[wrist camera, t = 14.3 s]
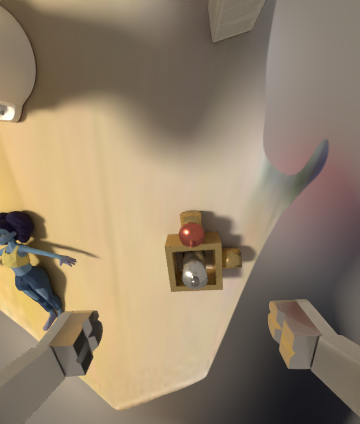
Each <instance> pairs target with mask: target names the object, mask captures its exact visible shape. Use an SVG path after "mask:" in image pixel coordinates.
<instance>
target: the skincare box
mask: <svg viewBox="0 0 360 424" xmlns="http://www.w3.org/2000/svg"><path fill="white" fill-rule="evenodd" d="M265 2H266V0H209V4H208V14H209V21H210V28H211V35H212V42H213V43H215V42H217V41H220V40H223V39H226V38H229V37H232V36H235V35H238V34H241V33H244V32H247V31H251V30H252V29H253V27H254V24H255V22H256V20H257V18H258V16H259V14H260V12H261V10H262V8H263V6H264V4H265Z"/></svg>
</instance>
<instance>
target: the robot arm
mask: <svg viewBox="0 0 360 424" xmlns="http://www.w3.org/2000/svg"><path fill="white" fill-rule="evenodd" d="M35 76H36V66H35V59H34V54H33V50H32V47H31V45H30V42H29V40H28V38H27V36H26V34H25V32H24V30H23V29H22V27H21V26H20V24H19V23H18V22H17V20H16V19H15V18H14V17H13V16H12V15H11V14H10V13H9V12H8V11H7V10H5V9H4V8H3V7H1V6H0V121H6V122H17V121H19V119H20V116H21V112H22V106H23V104H24V102H25V101H26V99H27V98H28V97H29V95H30V94H31V92H32V89H33V86H34V83H35ZM4 112H5V115H4ZM269 309H270V310H271V313H270V314H269V315H268V324H269V329H270V332H271V334H272V336H273V338H274V340H276V341H277V342H278V343H279V344H280V349H279V350H280V353H281V355H282V356H283V358H284V361H285V363H286V365H287V367H288V369H311V370H312V372H313V373H314V374H315V375H317V376H318V377H319V378H320V379H321V380H322V381H323V382H324V383H325V384H326V385H327V386H328V387H329V388H330V389H331V390H332V391H333V392H334V393H335V394H336V395H337V396H338V397H340V399H342V400H343V401H344V402H345V403H346V404H347V405H348V406H349V407H350V408H351V409H352V410H353V411H354V412H355V413H356V414H357V415H358V416H360V346H358V345H357V344H355V343H353V342H352V341H350V340H349V339H347V338H345V337H344V336H342V335H341V336H340V335H337V334H336V333H335V331H334V330H333V329H332V328H331V327H330V326H329V324H328V323H327V322H326V321H325V320H324V319H323V318H322V316H321V315H320V314H319V313H318V312H317V310H316V309H315V308H314V307H313V306H312V305H311V304H310V302H308V301H307V300H306V299H303V300H284V301H271V302H270V304H269ZM98 317H99V314H98V312H97V311H95V310H91V311H65V312H63V313H62V314H61V315H60V316H59V317H58V318H57V320H56V321H55V322H54V324H53V325H52V326H51V327H50V329H49V330H48V331H47V333H46V334H45V335H44V337H43V338H42V339H41V340H40V342H39V343H38V344H37V346H36V347H35V348H31V349H29V350H28V351H27V352H25V353H24V354H22V355H21V356H20V357H18V358H17V359H16V360H14V361H13V362H11V363H10V364H9V365H7V366H6V367H5V368H3V369H2V370H0V424H24V423H25V422H26V421H27V420H28V419H29V418H30V417H31V416H32V414H33V413H34V412H35V411H36V410H37V409H38V408H39V407H40V406H41V404H42V403H43V402H44V401H45V400H46V399H47V398H48V397H49V396H50V394H51V393H52V392H53V391H54V390H55V389H56V388H57V387H58V386H59V385H60V383H61V382H62V381H63V380H64V379H65V377H67V376H82V375H86V373H87V370H88V368H89V366H90V364H91V361H92V359H93V351H94V350H95V349H96V348H97V347H98V346H99V343H100V341H101V338H102V333H103V327H102V323H101V322H100V321H99V320H97V319H98Z"/></svg>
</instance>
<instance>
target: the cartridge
mask: <svg viewBox="0 0 360 424" xmlns="http://www.w3.org/2000/svg"><path fill="white" fill-rule="evenodd" d="M183 259H184V261H183V283H184V285H185V286H186V287H188V288H190V289H201V288H203V287H204V286H205V285H206V284H207V281H208V278H207V271H206V265H205V252H204V250H196V251H183Z"/></svg>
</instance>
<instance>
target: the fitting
mask: <svg viewBox="0 0 360 424" xmlns="http://www.w3.org/2000/svg"><path fill="white" fill-rule="evenodd" d="M180 219H181V229H180V232H179V234H173V235H168V236H167V240H166V244H165V252H166V259H167V266H168V273H169V280H170V287H171V292H176V291H200V290H223V281H222V269H224V268H241V267H242V256H241V252H240V249H239V248H238V247H237V248H222V243H221V240H220V238H219V235H218V232H204V230H203V228H202V221H201V212H199V211H186V212H183V213H181V214H180ZM196 250H212V257H213V269H206V271H207V278H208V281H207V284H206V285H205V286H204V287H203V288H201V289H190V288H188V287H186V286H185V285H184V283H183V271H178V268H177V259H176V252H180V251H196Z"/></svg>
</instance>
